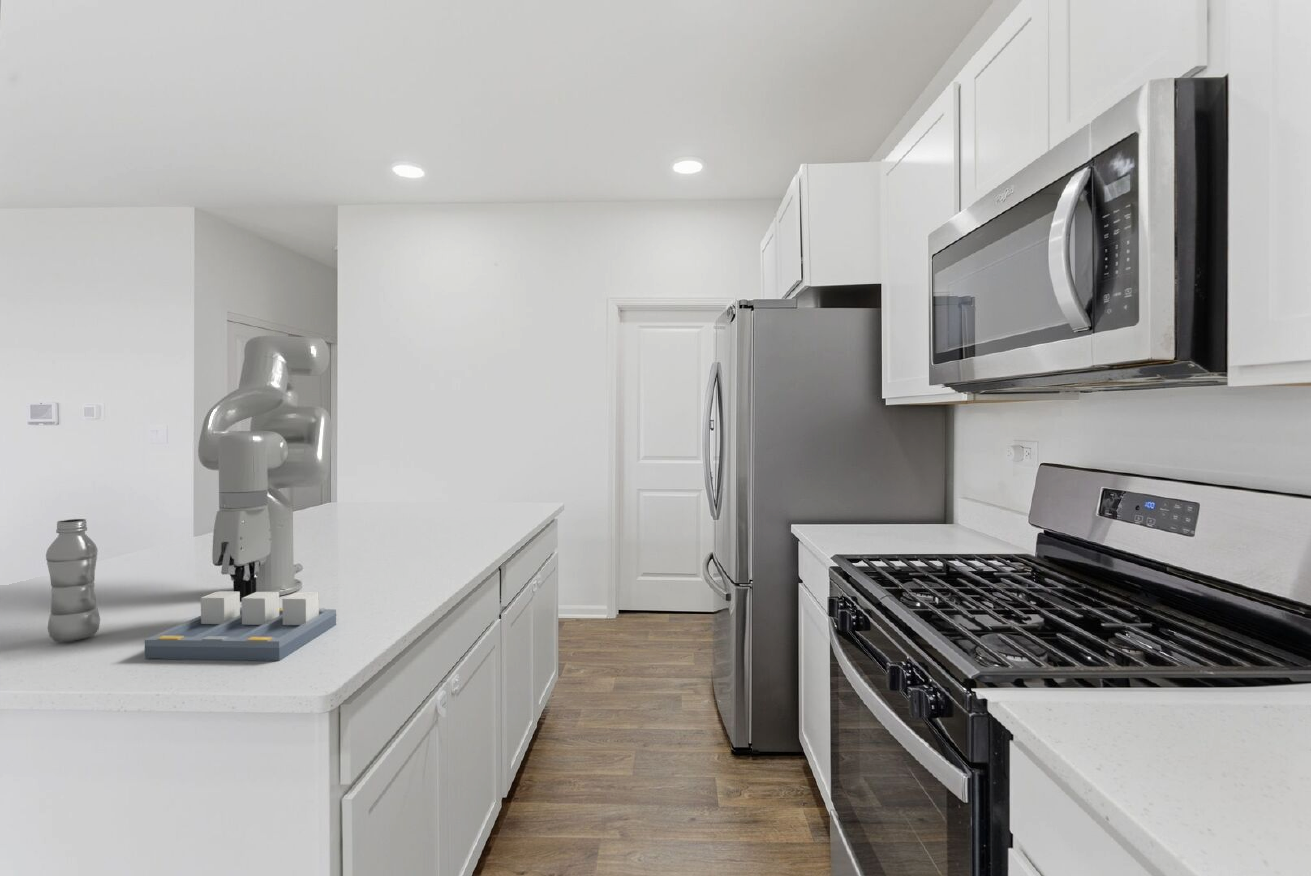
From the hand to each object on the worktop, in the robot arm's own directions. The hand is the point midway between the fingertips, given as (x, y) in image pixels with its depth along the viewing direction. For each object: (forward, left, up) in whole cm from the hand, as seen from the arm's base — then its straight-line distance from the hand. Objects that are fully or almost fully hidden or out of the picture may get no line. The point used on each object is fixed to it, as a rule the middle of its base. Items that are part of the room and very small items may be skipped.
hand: (245, 600), depth 117 cm
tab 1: (+6, 0, -2) cm, 7 cm away
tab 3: (+6, +14, -2) cm, 15 cm away
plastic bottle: (+10, -22, -4) cm, 25 cm away
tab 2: (+6, +7, -2) cm, 9 cm away
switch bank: (+10, +7, -4) cm, 13 cm away
